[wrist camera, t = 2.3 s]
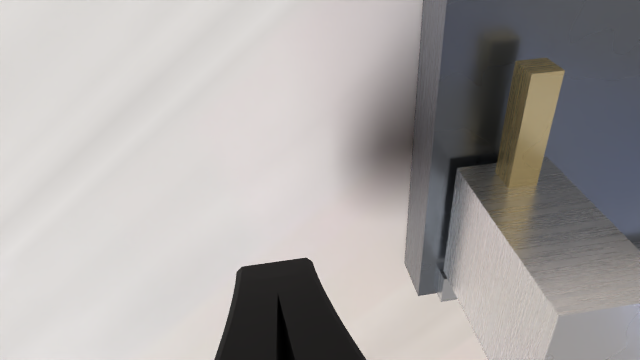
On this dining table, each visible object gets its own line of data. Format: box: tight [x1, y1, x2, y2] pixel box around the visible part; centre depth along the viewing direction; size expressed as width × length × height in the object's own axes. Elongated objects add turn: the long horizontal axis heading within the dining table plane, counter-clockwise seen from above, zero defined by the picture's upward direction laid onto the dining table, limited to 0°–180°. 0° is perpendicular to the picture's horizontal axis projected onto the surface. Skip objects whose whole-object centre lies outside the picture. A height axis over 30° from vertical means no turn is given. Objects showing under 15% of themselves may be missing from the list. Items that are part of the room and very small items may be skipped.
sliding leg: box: [443, 58, 640, 360], centre depth 9 cm, size 2×5×4 cm, turn 2°
